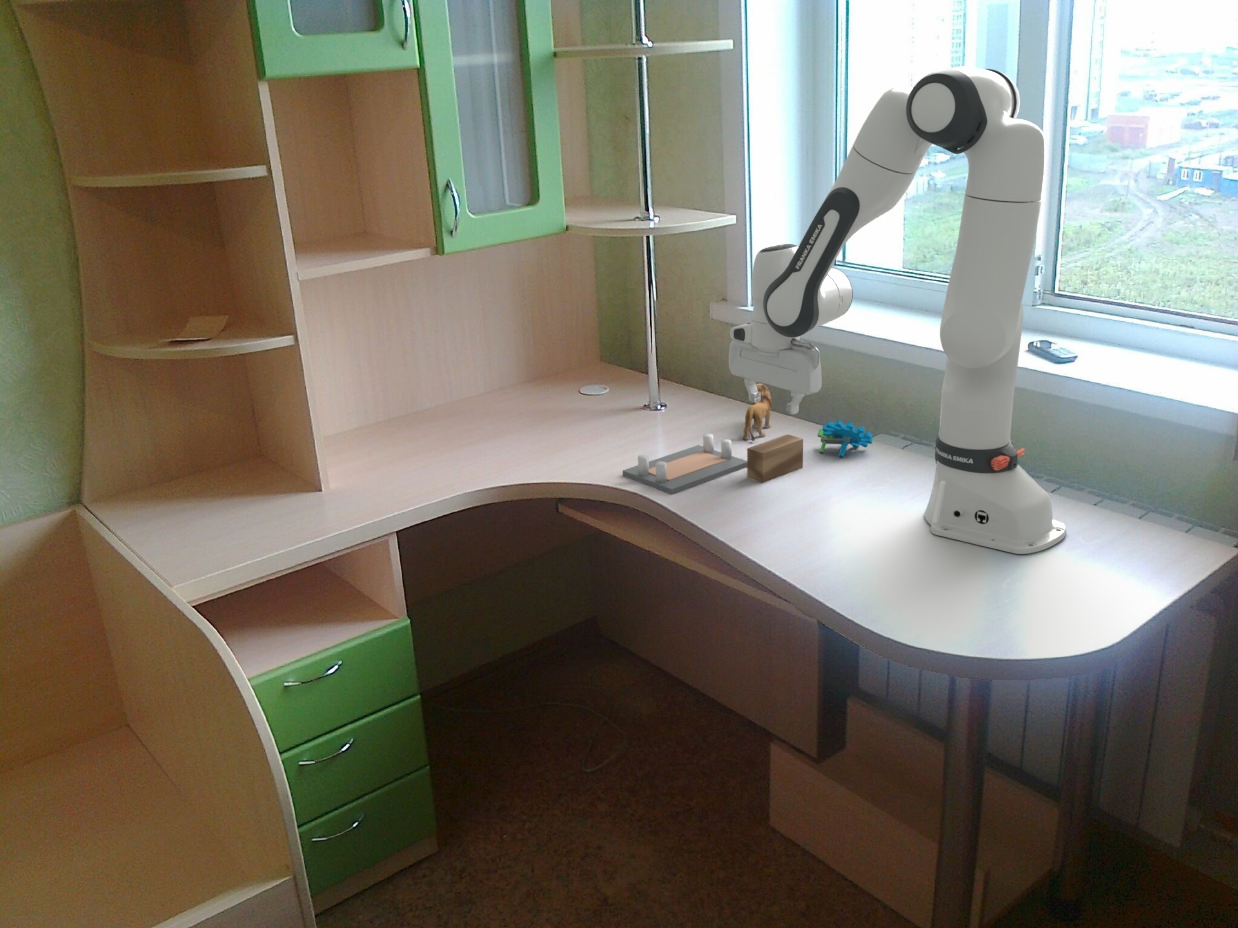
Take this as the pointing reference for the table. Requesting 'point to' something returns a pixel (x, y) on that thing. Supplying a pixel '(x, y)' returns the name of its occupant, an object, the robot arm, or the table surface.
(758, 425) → the lion figurine
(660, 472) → the cradle
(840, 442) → the blue spiky animal toy
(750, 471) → the block
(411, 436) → the table surface
